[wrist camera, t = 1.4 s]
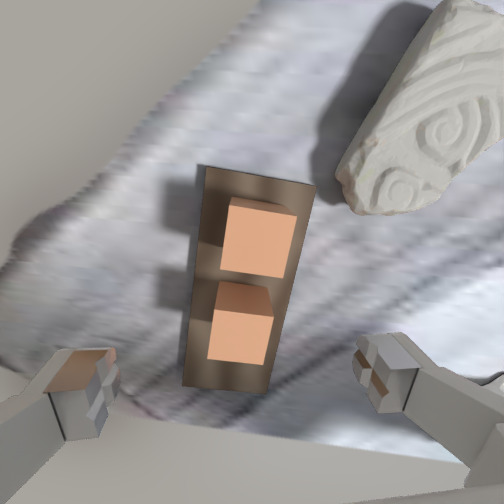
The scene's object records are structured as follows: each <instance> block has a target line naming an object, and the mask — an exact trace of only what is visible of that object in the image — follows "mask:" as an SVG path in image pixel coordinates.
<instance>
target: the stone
mask: <svg viewBox="0 0 504 504" xmlns="http://www.w3.org/2000/svg"><path fill="white" fill-rule="evenodd" d="M502 138H504V15H502V14H500V13H497V12H496V11H494V10H493V9H492V8H491V7H490V6H487V5H482V4H479V3H477V2H475V1H473V0H443V1H442V2H441V3H439V4H438V5H437V6H436V8H435V9H434V11H433V12H432V13H431V15H430V16H429V18H428V19H427V20H426V22H425V23H424V25H423V26H422V28H421V29H420V30H419V32H418V33H417V35H416V36H415V38H414V39H413V40H412V42H411V43H410V45H409V47H408V48H407V50H406V51H405V53H404V55H403V56H402V58H401V60H400V61H399V63H398V65H397V66H396V68H395V70H394V72H393V73H392V75H391V77H390V79H389V81H388V82H387V83H386V85H385V87H384V89H383V90H382V92H381V93H380V95H379V97H378V99H377V101H376V103H375V105H374V106H373V107H372V109H371V110H370V111H369V113H368V115H367V116H366V118H365V119H364V121H363V123H362V124H361V126H360V128H359V129H358V131H357V133H356V134H355V136H354V138H353V140H352V141H351V143H350V145H349V146H348V148H347V150H346V151H345V153H344V154H343V156H342V158H341V160H340V162H339V164H338V166H337V169H336V171H335V178H336V179H337V180H338V181H339V182H340V183H341V185H342V191H343V195H344V197H345V199H346V203H347V204H348V205H349V206H350V209H351V210H352V211H353V212H354V213H355V214H358V215H361V216H364V215H378V214H380V215H386V216H392V215H395V214H401V213H407V212H412V211H415V210H418V209H421V208H423V207H425V206H427V205H430V204H432V203H434V202H435V201H436V200H437V199H439V198H440V196H441V194H442V193H443V192H444V190H445V189H446V187H447V186H448V184H449V183H450V182H451V181H452V179H453V178H454V177H455V176H456V175H458V174H459V173H460V172H461V171H463V170H464V169H465V167H466V166H467V165H469V164H470V163H471V162H472V161H473V160H475V159H476V158H477V157H478V156H479V155H480V153H481V152H483V151H485V150H486V149H488V148H489V147H490V146H492V145H493V144H495V143H497V142H498V141H499V140H501V139H502Z"/></svg>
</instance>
